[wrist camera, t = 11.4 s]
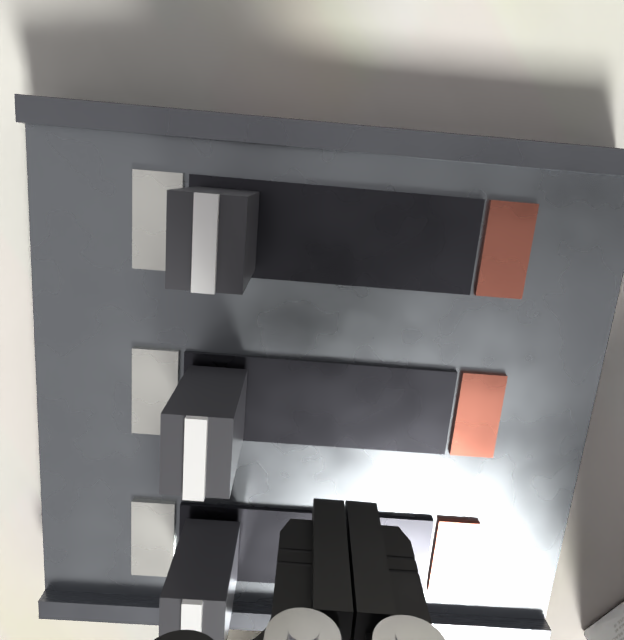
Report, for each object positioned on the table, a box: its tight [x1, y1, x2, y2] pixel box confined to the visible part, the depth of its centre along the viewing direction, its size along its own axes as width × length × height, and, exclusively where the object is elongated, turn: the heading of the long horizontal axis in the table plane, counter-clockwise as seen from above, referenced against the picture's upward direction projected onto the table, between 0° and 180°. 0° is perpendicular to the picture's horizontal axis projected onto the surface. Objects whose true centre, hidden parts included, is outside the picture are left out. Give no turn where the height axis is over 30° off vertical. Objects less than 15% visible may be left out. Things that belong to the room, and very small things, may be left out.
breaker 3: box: [159, 518, 240, 640], centre depth 19 cm, size 2×2×4 cm
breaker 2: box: [159, 365, 248, 501], centre depth 18 cm, size 2×2×4 cm
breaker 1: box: [165, 186, 260, 295], centre depth 16 cm, size 2×2×4 cm
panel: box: [15, 94, 624, 640], centre depth 21 cm, size 20×19×3 cm
